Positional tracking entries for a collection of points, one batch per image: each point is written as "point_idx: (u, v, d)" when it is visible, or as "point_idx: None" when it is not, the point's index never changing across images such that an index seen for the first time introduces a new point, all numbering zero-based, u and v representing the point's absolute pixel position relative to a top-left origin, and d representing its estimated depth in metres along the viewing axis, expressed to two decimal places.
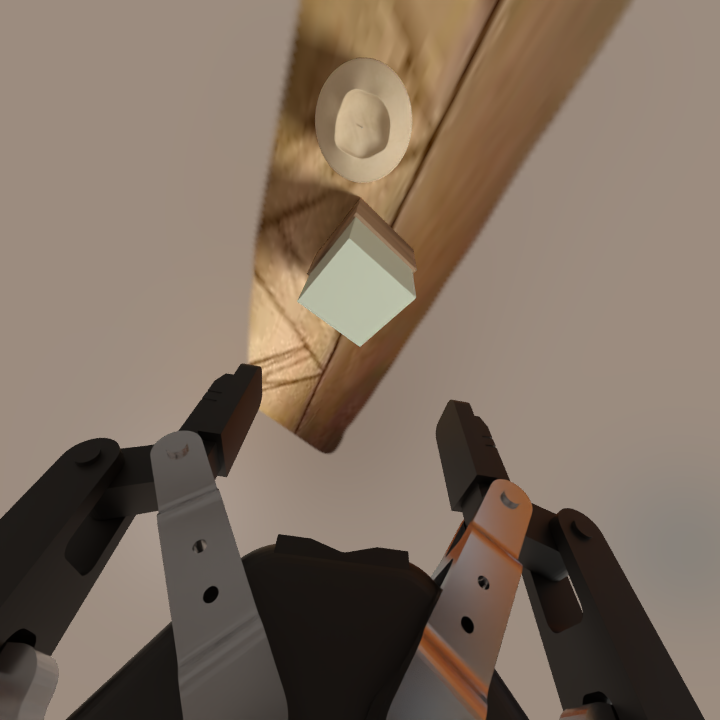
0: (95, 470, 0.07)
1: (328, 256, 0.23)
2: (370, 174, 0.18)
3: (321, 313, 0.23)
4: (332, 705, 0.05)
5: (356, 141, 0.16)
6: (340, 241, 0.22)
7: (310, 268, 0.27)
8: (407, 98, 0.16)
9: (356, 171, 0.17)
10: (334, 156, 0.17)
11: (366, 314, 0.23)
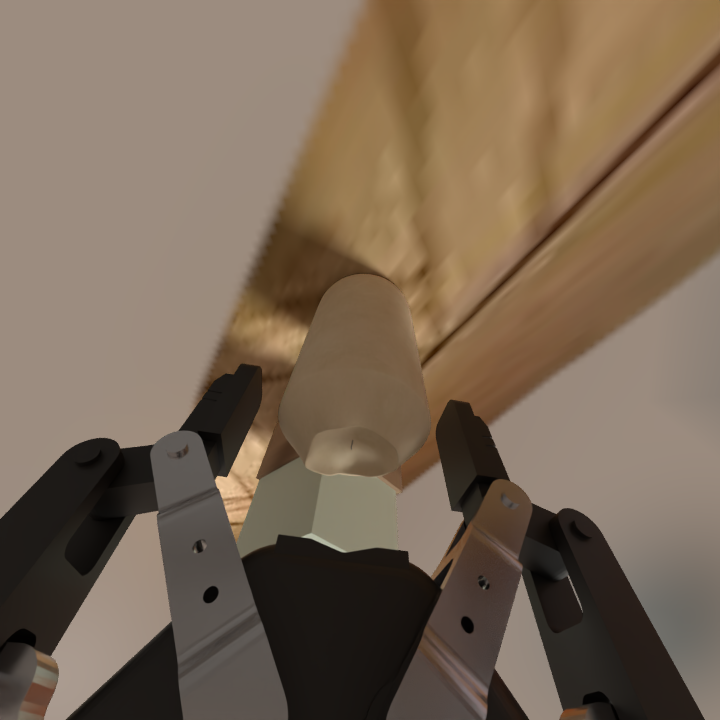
0: (95, 470, 0.07)
1: (283, 499, 0.16)
2: None
3: None
4: (332, 706, 0.05)
5: (340, 451, 0.10)
6: (301, 489, 0.16)
7: (262, 468, 0.20)
8: (427, 416, 0.10)
9: None
10: None
11: None
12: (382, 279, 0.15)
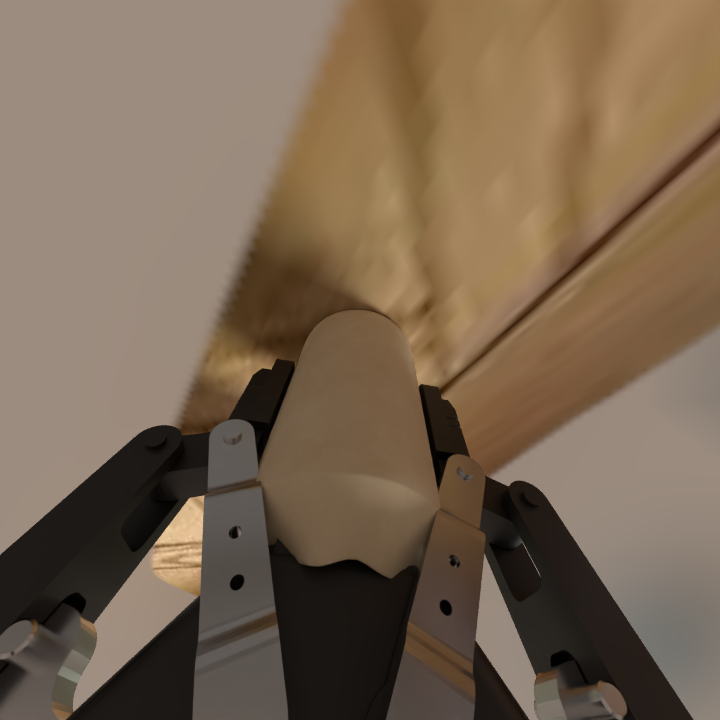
0: (163, 454, 0.08)
1: None
2: None
3: None
4: (332, 705, 0.05)
5: None
6: None
7: None
8: None
9: None
10: None
11: None
12: (378, 316, 0.13)
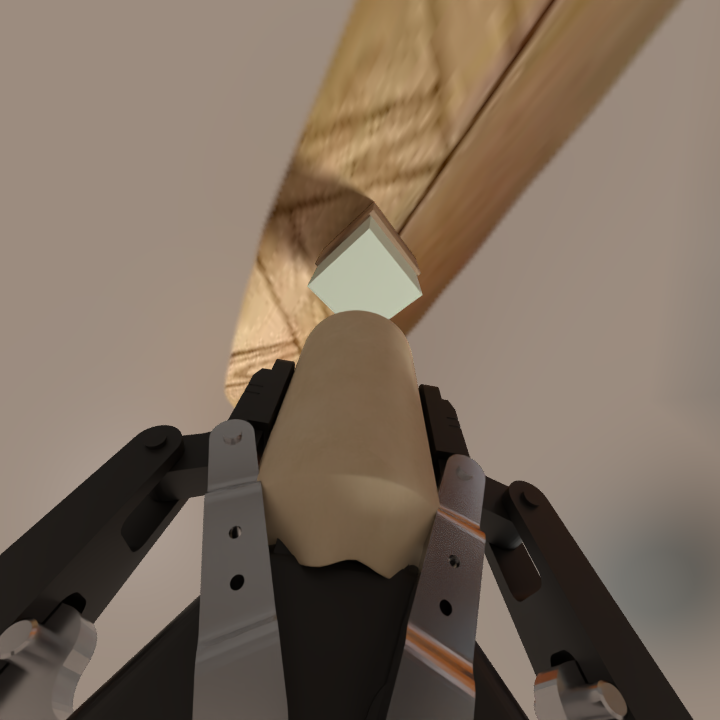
0: (163, 454, 0.08)
1: (342, 247, 0.24)
2: None
3: (329, 300, 0.24)
4: (332, 705, 0.05)
5: None
6: (356, 234, 0.23)
7: (319, 259, 0.27)
8: None
9: None
10: None
11: (373, 306, 0.24)
12: (378, 317, 0.13)
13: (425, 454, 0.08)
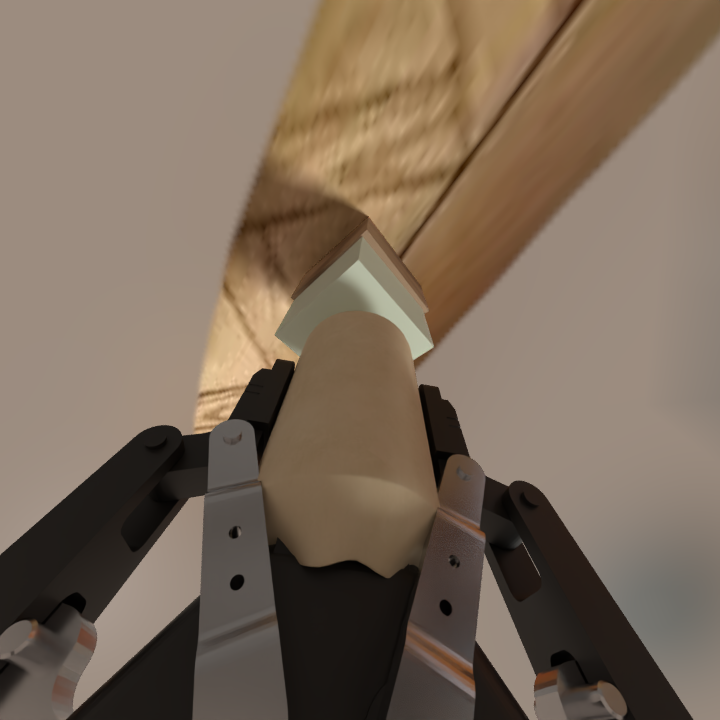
0: (163, 454, 0.08)
1: (323, 281, 0.17)
2: None
3: None
4: (332, 705, 0.05)
5: None
6: (341, 263, 0.17)
7: (296, 291, 0.21)
8: None
9: None
10: None
11: None
12: (378, 318, 0.13)
13: (425, 454, 0.08)
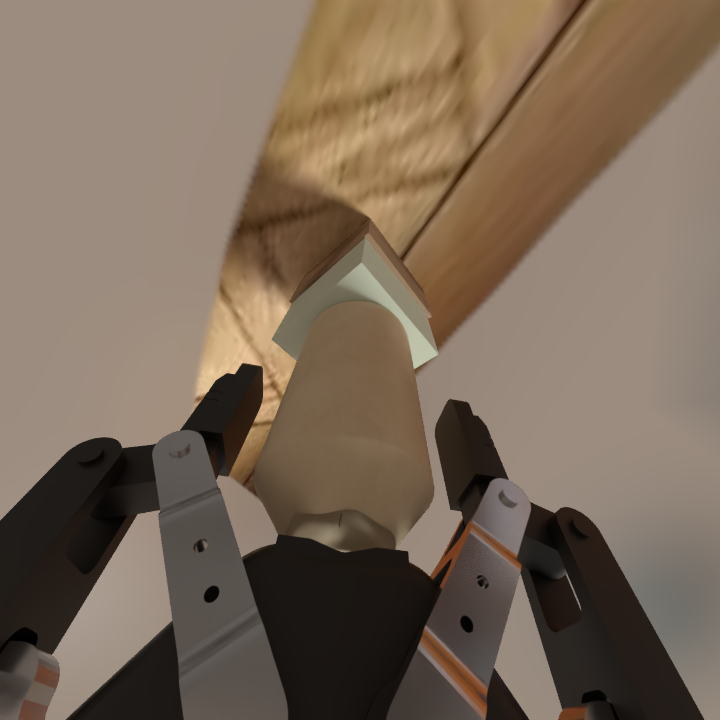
0: (97, 469, 0.07)
1: (323, 283, 0.17)
2: None
3: None
4: (332, 705, 0.05)
5: (327, 524, 0.09)
6: (343, 265, 0.16)
7: (295, 294, 0.20)
8: (430, 484, 0.08)
9: None
10: None
11: None
12: (377, 307, 0.14)
13: (418, 425, 0.09)
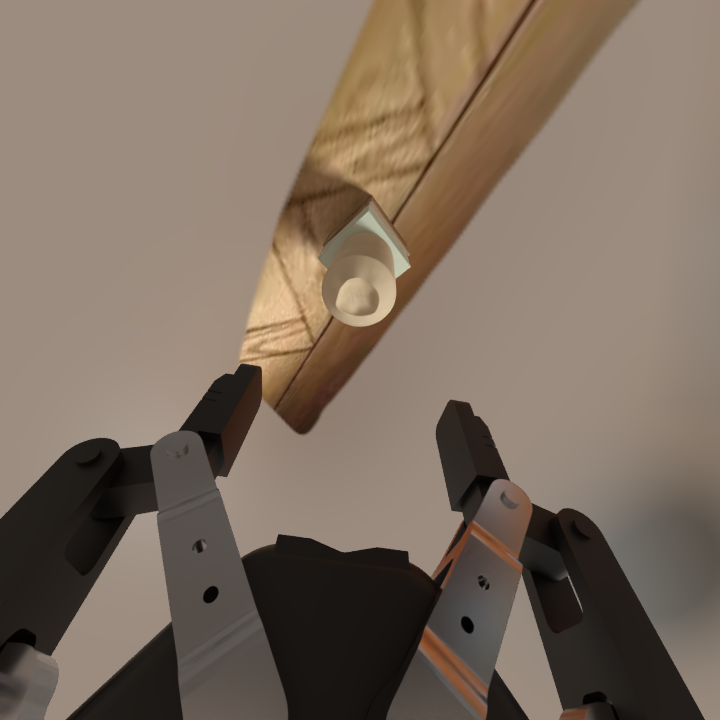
0: (95, 470, 0.07)
1: (346, 228, 0.29)
2: (360, 323, 0.22)
3: None
4: (332, 704, 0.05)
5: (352, 303, 0.21)
6: (357, 217, 0.29)
7: (326, 241, 0.33)
8: (393, 283, 0.21)
9: (349, 320, 0.22)
10: (333, 309, 0.22)
11: None
12: (375, 234, 0.27)
13: (390, 267, 0.22)
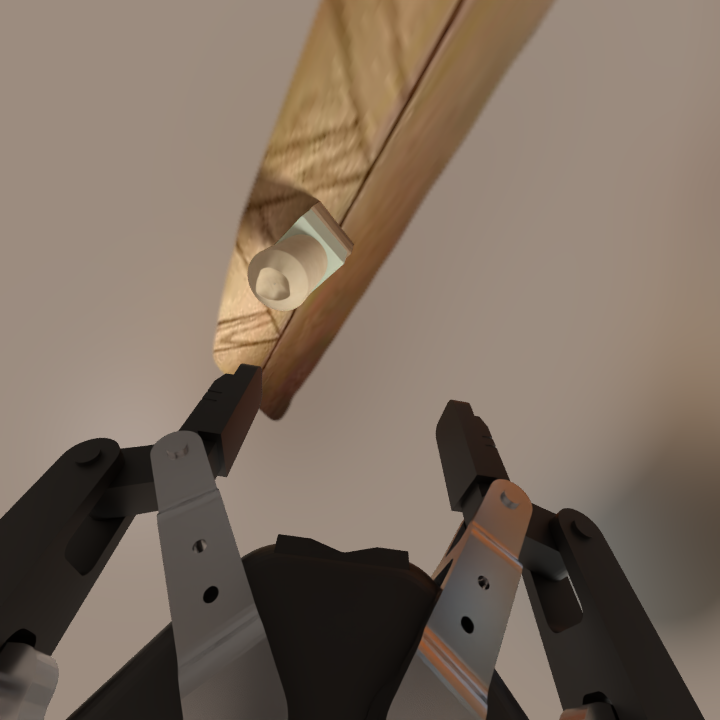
0: (95, 470, 0.07)
1: None
2: (283, 307, 0.26)
3: None
4: (332, 705, 0.05)
5: (272, 290, 0.26)
6: None
7: (277, 241, 0.38)
8: (303, 270, 0.25)
9: (274, 305, 0.26)
10: (258, 297, 0.26)
11: None
12: (306, 235, 0.31)
13: (304, 258, 0.26)
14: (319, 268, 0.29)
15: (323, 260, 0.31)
